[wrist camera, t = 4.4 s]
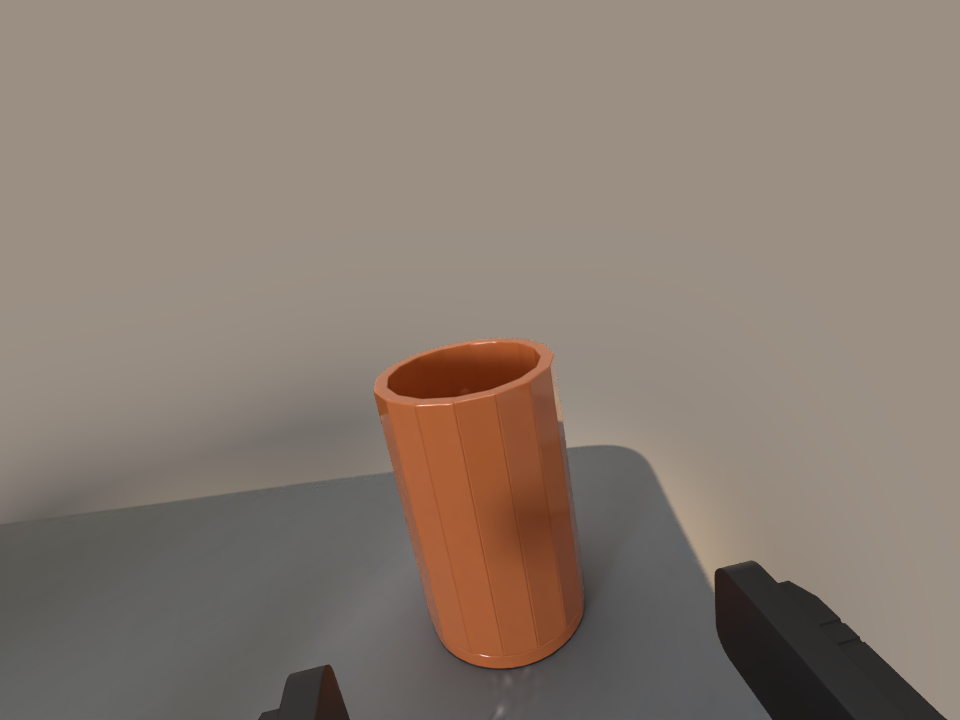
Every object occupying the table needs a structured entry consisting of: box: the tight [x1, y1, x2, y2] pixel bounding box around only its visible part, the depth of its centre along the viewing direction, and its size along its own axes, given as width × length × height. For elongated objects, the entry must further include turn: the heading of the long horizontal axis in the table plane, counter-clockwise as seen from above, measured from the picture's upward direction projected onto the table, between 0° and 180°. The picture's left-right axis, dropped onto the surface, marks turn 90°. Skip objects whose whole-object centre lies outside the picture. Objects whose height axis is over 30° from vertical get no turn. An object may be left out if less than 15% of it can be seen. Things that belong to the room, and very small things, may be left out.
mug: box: [374, 338, 584, 669], centre depth 20 cm, size 10×6×10 cm, turn 7°
